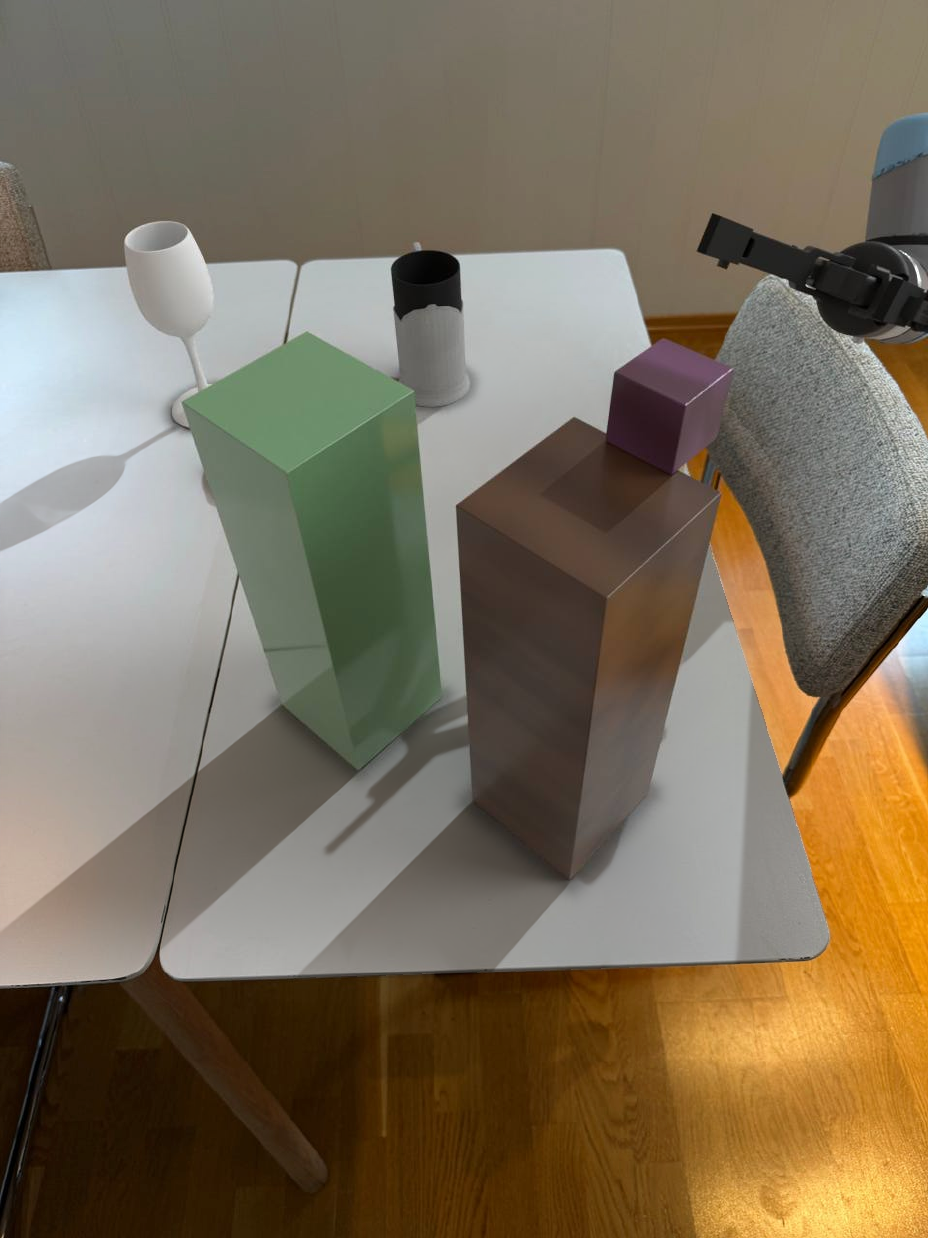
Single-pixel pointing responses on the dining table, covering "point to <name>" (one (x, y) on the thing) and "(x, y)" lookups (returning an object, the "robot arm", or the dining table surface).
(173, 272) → the wineglass
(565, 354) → the dining table surface
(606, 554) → the stand
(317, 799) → the dining table surface
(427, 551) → the green stand
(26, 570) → the dining table surface
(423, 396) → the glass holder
